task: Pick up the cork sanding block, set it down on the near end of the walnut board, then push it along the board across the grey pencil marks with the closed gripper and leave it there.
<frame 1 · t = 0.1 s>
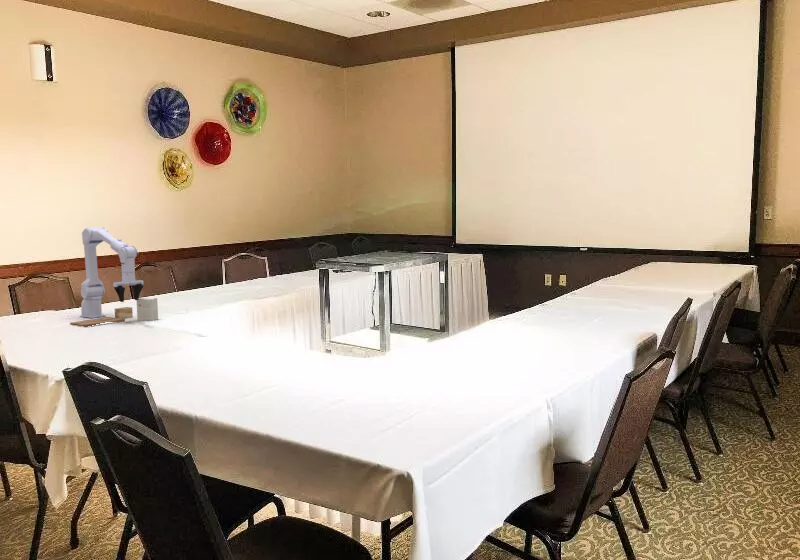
hand: (129, 300, 308), 10 cm above the table, tool pointing down, fingers open, 7 cm apart
small box: (147, 320, 316), on the table
sanding block: (123, 318, 320), on the table
board: (97, 322, 305), on the table
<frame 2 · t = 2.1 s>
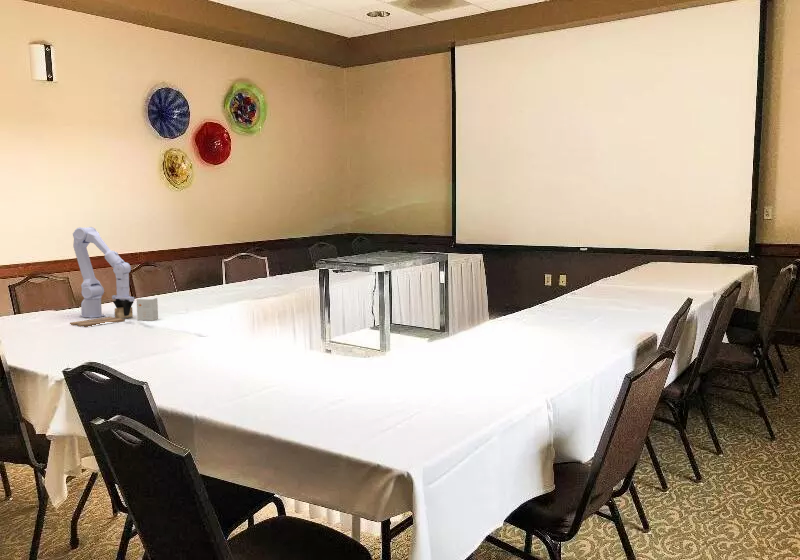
hand: (123, 315, 320), 1 cm above the table, tool pointing down, fingers closed on sanding block, 4 cm apart
sanding block: (123, 317, 320), on the table, touching gripper
everything else where it was.
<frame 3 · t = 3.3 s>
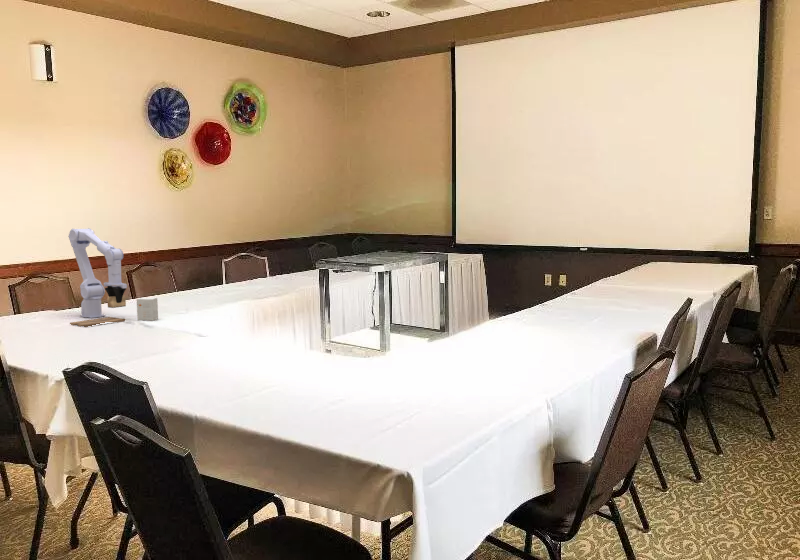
hand: (115, 302, 314), 8 cm above the table, tool pointing down, fingers closed on sanding block, 4 cm apart
sanding block: (116, 306, 315), point 6 cm above the table, touching gripper
everything else where it was.
when the fingers open (3 cm above the table, at t = 4.8 s): sanding block stays where it is, resting on board.
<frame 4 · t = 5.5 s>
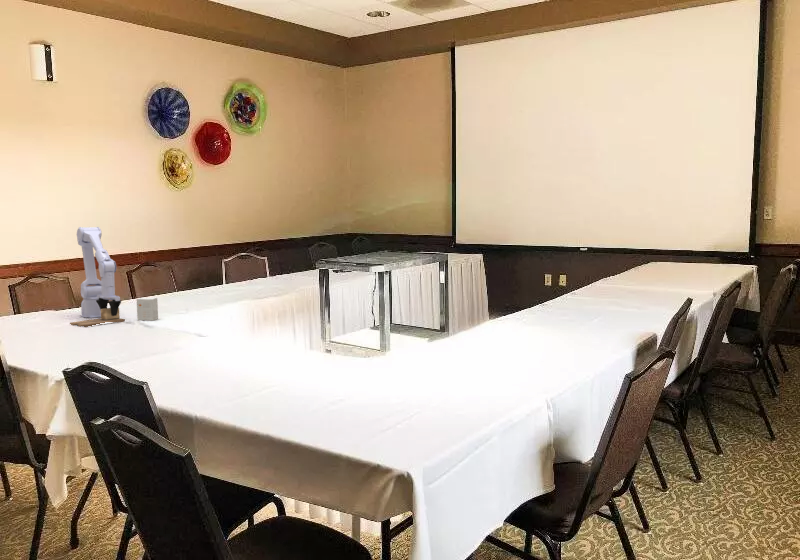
hand: (109, 314, 310), 3 cm above the table, tool pointing down, fingers open, 7 cm apart
sanding block: (110, 318, 311), point 1 cm above the table, touching board
everything else where it was.
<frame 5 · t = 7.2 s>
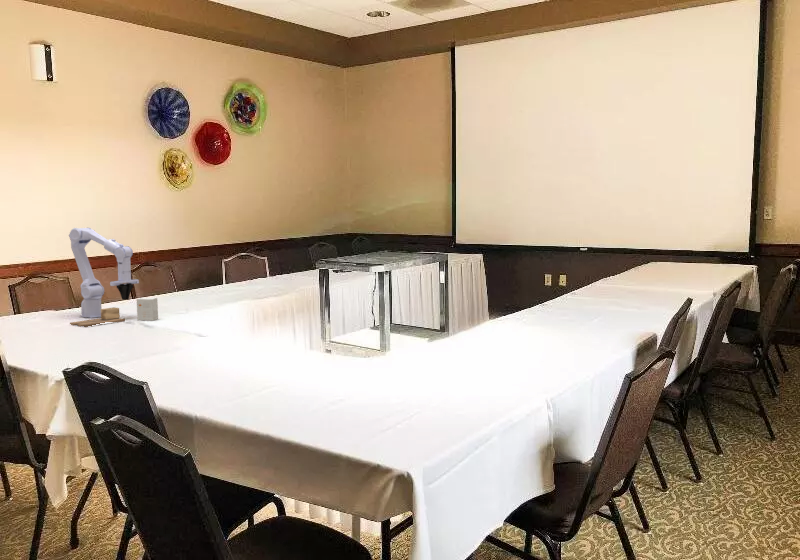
hand: (125, 299, 317), 9 cm above the table, tool pointing down, fingers closed
nothing on the table moved.
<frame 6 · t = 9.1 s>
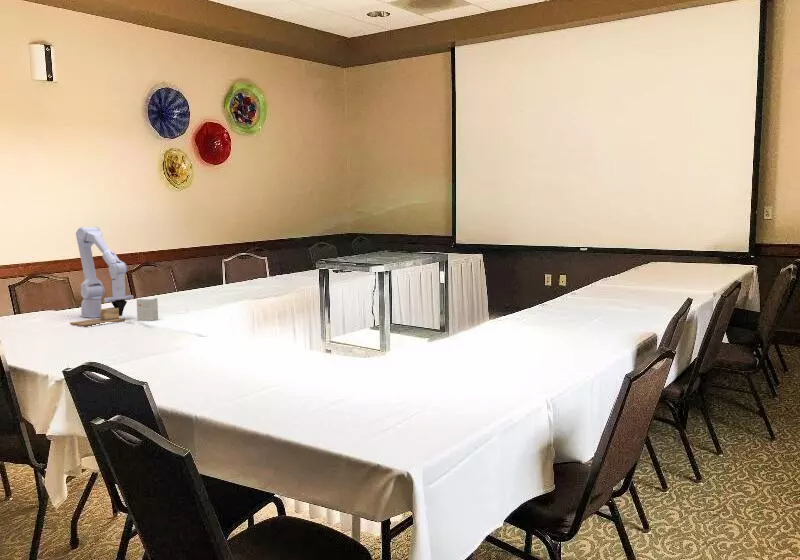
hand: (119, 315, 315), 2 cm above the table, tool pointing down, fingers closed
sanding block: (109, 319, 310), point 1 cm above the table, touching gripper
everything else where it was.
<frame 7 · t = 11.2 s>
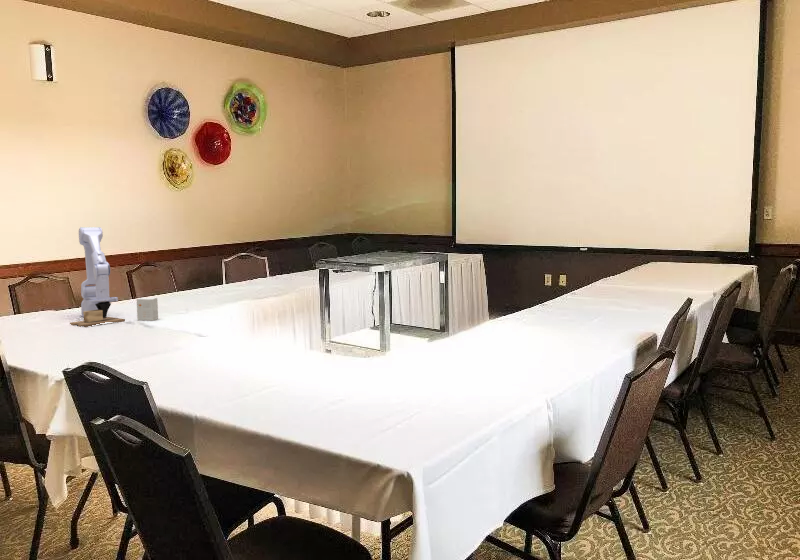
hand: (103, 318, 308), 2 cm above the table, tool pointing down, fingers closed
sanding block: (93, 321, 303), point 1 cm above the table, touching board, gripper
everything else where it was.
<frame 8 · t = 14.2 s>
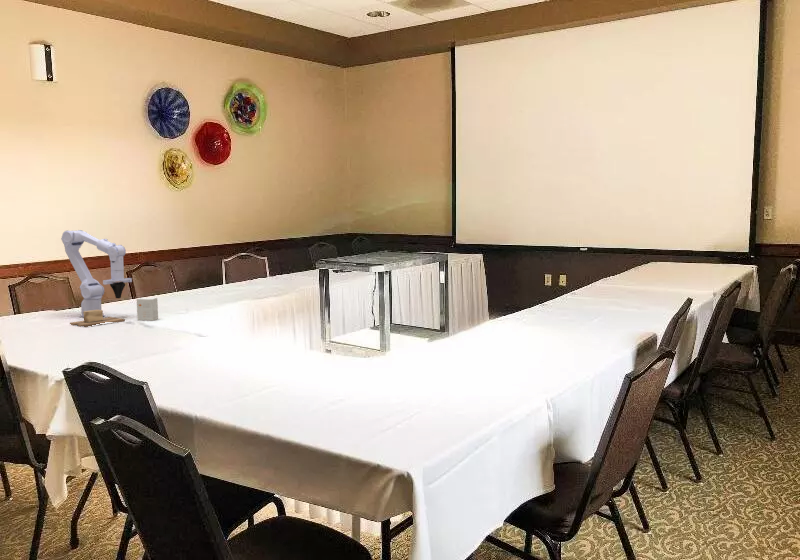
hand: (118, 298, 318), 10 cm above the table, tool pointing down, fingers closed
sanding block: (93, 321, 303), point 1 cm above the table, touching board
everything else where it was.
at the end: sanding block inside the target area on the board (0.8 cm from its centre), point 1.0 cm above the board's base; sanding block tilted 0°; the gripper is holding nothing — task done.
